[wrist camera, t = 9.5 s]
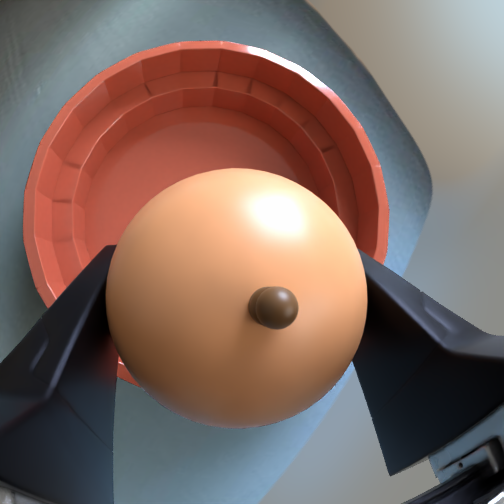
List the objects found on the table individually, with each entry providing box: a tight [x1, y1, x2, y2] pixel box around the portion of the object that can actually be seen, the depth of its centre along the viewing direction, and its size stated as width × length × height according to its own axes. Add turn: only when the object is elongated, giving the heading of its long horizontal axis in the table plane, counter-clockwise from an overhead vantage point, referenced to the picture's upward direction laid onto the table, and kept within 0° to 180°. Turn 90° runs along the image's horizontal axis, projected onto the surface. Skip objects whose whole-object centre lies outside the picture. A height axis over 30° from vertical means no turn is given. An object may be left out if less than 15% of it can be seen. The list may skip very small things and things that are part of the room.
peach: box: [106, 168, 367, 429], centre depth 8 cm, size 6×6×8 cm
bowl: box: [23, 41, 389, 388], centre depth 16 cm, size 18×18×5 cm
